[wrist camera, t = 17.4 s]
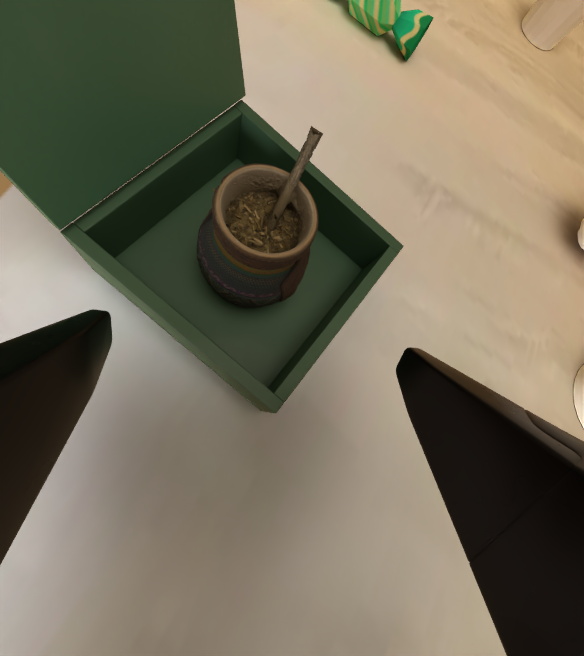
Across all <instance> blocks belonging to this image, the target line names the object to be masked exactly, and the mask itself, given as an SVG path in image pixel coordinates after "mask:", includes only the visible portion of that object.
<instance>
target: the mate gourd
mask: <svg viewBox="0 0 584 656" xmlns="http://www.w3.org/2000/svg"><path fill="white" fill-rule="evenodd" d="M318 132H319V131H318V130H316V129H315V128H313V127H312V126H311V128H310V131H309V134H308V138H307V141H305V143H304V145H303V147H302V149H301V151H300V154H299V157H298V159H297V161H296V163H295V165H294V168H293V170H292V171H291V173H289V172H287V171H285V170H283V169H280V168H278V167H275V166H272V165H267V164H248V165H244V166H241V167H238V168H236V169H235V170H233V171H231V172H229V173H228V174H227V175H225V176H224V177H223V178H222V179H221V183H220V184H221V185H220V186H219V185H218V186H217V188H216V189H215V190H214V188H213V191H214V193H213V198H212V208H211V209H210V211H209V213H208V215H207V216H206V218H205V219H204V220H203V221H202V224H201V225H200V228H199V233H198V239H197V260H198V262H199V266H200V269H201V272H202V274H203V276H204V278H205V279H206V281H207V282H208V284H209V285H210V286H211V287H212V289H213V290H214V291H215V292H216V293H217V294H218V295H219V296H221V297H222V298H223V299H225V300H227V301H228V302H231V303H232V304H235V305H238V306H241V307H245V308H246V307H247V308H253V307H254V308H255V307H264V306H268V305H272V304H274V303H277V302H279V301H280V302H281V301H284V300H286V299H287V298H289V297H291V296H292V295H293V294H294V293H295V291H296V289H297V286H298V285H299V284H300V282H301V280H302V278H303V275H304V273H305V270H306V267H307V265H308V261H309V256H310V246H311V244H312V242H313V241H314V238H315V236H316V233H317V229H318V211H317V207H316V203H315V201H314V199H313V197H312V195H311V193H310V192H309V190H308V189H307V188H306V186H305V185H304V184H303V183H302V182H301V181H300V180H299V179H300V177H301V175H302V172H303V171H304V169H305V167H306V165H307V163H308V162H309V160H310V158H311V156H312V154H313V153H312V152H313V151H314V149H315V148H316V146H317V144H318V142H319V140H320V138H321V137H322V135H323V133H321V132H319V133H318Z"/></svg>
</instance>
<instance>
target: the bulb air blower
mask: <svg viewBox="0 0 584 656" xmlns="http://www.w3.org/2000/svg"><path fill="white" fill-rule="evenodd" d="M577 235H578V243H579V245H580V246H581V248H582V249H584V218H583V219H582V222H581V226H580V229H579V230H578V234H577Z"/></svg>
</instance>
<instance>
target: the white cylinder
mask: <svg viewBox="0 0 584 656" xmlns="http://www.w3.org/2000/svg"><path fill="white" fill-rule="evenodd" d="M583 20H584V0H537V1H536V2H535V3H534V5H533V6H532V8H531V9H530V10H529V12H528V13H527V14H526V16H525V17H524V19H523V20H522V23H521V25H522V30H523V32H524V34H525V36H526V37H527V39H528V40H529V41H530V42H531V43H532V44H533V45H535V46H536V47H537V48H539V49H542V50H551V49H552V48H554V47H555V46H556V45H557V44H558V43H559V42H560V41H561V40H562V39H564V38H565V37H566V36H567V35H568V34H569V33H570V32H571V31H572V30H573V29H575V28H576V27H577V26H578V25H579V24H580V23H581V22H582V21H583Z"/></svg>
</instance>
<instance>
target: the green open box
mask: <svg viewBox="0 0 584 656" xmlns="http://www.w3.org/2000/svg"><path fill="white" fill-rule="evenodd" d="M299 154H300V152H299V151H298V150H297V149H295V148H294V147H293V146H292V145H291V144H290V143H289V142H288V141H287V140H285V139H284V138H283V137H282V136H281V135H280V134H279V133H278V132H277V131H276V130H274V129H273V128H272V127H271V126H270V125H269V124H268V123H267V122H266V121H264V120H263V119H262V118H261V117H260V116H259V115H258V114H257V113H256V112H254V111H253V110H252V109H251V108H250V107H249V106H248V105H247V104H246V103H244V102H243V101H242V100H240V101H239V102H237V103H236V104H235V105H234V106H232V107H231V108H230V109H228V110H227V111H226V112H224V113H223V114H221V115H220V116H219V117H217V118H216V119H215V120H213V121H212V122H210V123H209V124H208V125H206V126H205V127H204V128H202V129H201V130H199V131H198V132H197V133H195V134H194V135H193V136H191V137H190V138H188V139H187V140H186V141H184V142H183V143H182V144H180V145H179V146H178V147H176V148H175V149H173V150H172V151H171V152H169V153H168V154H167V155H165V156H164V157H162V158H161V159H160V160H158V161H157V162H156V163H154V164H153V165H151V166H150V167H149V168H147V169H146V170H145V171H143V172H142V173H140V174H139V175H138V176H136V177H135V178H134V179H132V180H131V181H130V182H128V183H127V184H125V185H124V186H123V187H121V188H120V189H119V190H117V191H116V192H114V193H113V194H112V195H110V196H109V197H108V198H106V199H105V200H103V201H102V202H101V203H99V204H98V205H97V206H95V207H94V208H92V209H91V210H90V211H88V212H87V213H86V214H84V215H83V216H82V217H80V218H79V219H77V220H76V221H75V222H74V223H71V224H70V225H69V226H67V227H66V228H64V229H63V230H62V231H61V233H62V234H63V236H64V237H65V238H66V239H67V240H68V241H69V242H70V244H71V245H72V246H73V247H74V248H75V249H76V250H77V252H78V253H79V254H80V255H81V256H82V257H83V258H84V260H85V261H86V262H87V263H88V264H89V265H90V266H91V267H92V269H93V270H95V271H96V272H97V273H98V274H99V275H100V276H102V277H103V278H104V279H105V280H106V281H108V282H109V283H110V284H111V285H112V286H114V287H115V288H116V289H117V290H118V291H119V292H121V293H122V294H123V295H124V296H125V297H127V298H128V299H129V300H130V301H131V302H132V303H134V304H135V305H136V306H137V307H138V308H140V309H141V310H142V311H143V312H144V313H146V314H147V315H148V316H149V317H150V318H151V319H153V320H154V321H155V322H156V323H157V324H159V325H160V326H161V327H162V328H163V329H164V330H166V331H167V332H168V333H169V334H170V335H172V336H173V337H174V338H175V339H176V340H178V341H179V342H180V343H181V344H182V345H183V346H185V347H186V348H187V349H188V350H189V351H191V352H192V353H193V354H194V355H195V356H197V357H198V358H199V359H200V360H201V361H202V362H204V363H205V364H206V365H207V366H208V367H210V368H211V369H212V370H213V371H214V372H215V373H217V374H218V375H219V376H220V377H221V378H223V379H224V380H225V381H226V382H227V383H229V384H230V385H231V386H232V387H233V388H234V389H236V390H237V391H238V392H239V393H240V394H242V395H243V396H244V397H245V398H246V399H248V400H249V401H250V402H251V403H252V404H253V405H255V406H256V407H257V408H258V409H259V410H261V411H264V412H270V413H275V414H276V413H277V411H278V410H279V409H280V407H281V406H282V405H283V403H284V402H285V401H286V400H287V398H288V397H289V396H290V394H291V393H292V392H293V390H294V389H295V388H296V386H297V385H298V384H299V383H300V381H301V380H302V379H303V377H304V376H305V375H306V373H307V372H308V371H309V369H310V368H311V367H312V366H313V364H314V363H315V362H316V360H317V359H318V358H319V356H320V355H321V354H322V352H323V351H324V350H325V349H326V347H327V346H328V345H329V343H330V342H331V341H332V339H333V338H334V337H335V335H336V334H337V333H338V332H339V330H340V329H341V328H342V326H343V325H344V324H345V322H346V321H347V320H348V318H349V317H350V316H351V314H352V313H353V312H354V311H355V309H356V308H357V307H358V305H359V304H360V303H361V301H362V300H363V299H364V297H365V296H366V295H367V294H368V292H369V291H370V290H371V288H372V287H373V286H374V284H375V283H376V282H377V280H378V279H379V278H380V277H381V275H382V274H383V273H384V271H385V270H386V269H387V267H388V266H389V265H390V263H391V262H392V261H393V260H394V258H395V257H396V256H397V254H398V253H399V252H400V250H401V249H402V248H403V245H402V244H401V243H400V242H398V241H397V240H396V239H395V238H394V237H393V236H392V235H391V234H390V233H389V232H387V231H386V230H385V229H384V228H383V227H382V226H381V225H380V224H379V223H377V222H376V221H375V220H374V219H373V218H372V217H371V216H370V215H369V214H367V213H366V212H365V211H364V210H363V209H362V208H361V207H360V206H359V205H357V204H356V203H355V202H354V201H353V200H352V199H351V198H350V197H349V196H348V195H346V194H345V193H344V192H343V191H342V190H341V189H340V188H339V187H338V186H336V185H335V184H334V183H333V182H332V181H331V180H330V179H329V178H328V177H326V176H325V175H324V174H323V173H322V172H321V171H320V170H319V169H318V168H317V167H315V166H314V165H313V164H312V163H311V162H310V161H309V162H308V163H307V165H306V167H305V169H304V171H303V172H302V175H301V177H300V179H299V180H300V181H301V182H302V183H303V184H304V185H305V186H306V188H307V189H308V190H309V192H310V193H311V195H312V197H313V199H314V201H315V203H316V207H317V211H318V229H317V233H316V236H315V238H314V241H313V242H312V244H311V246H310V256H309V261H308V265H307V267H306V270H305V273H304V275H303V278H302V280H301V282H300V284H299V285H298V286H297V289H296V291H295V293H294V294H293V295H292V296H291V297H289V298H287V299H286V300H284V301H281V302H280V301H279V302H277V303H274V304H272V305H268V306H264V307H255V308H254V307H253V308H247V307H246V308H245V307H241V306H238V305H235V304H232V303H231V302H228V301H227V300H225V299H223V298H222V297H221V296H219V295H218V294H217V293H216V292H215V291H214V290H213V289H212V287H211V286H210V285H209V284H208V282H207V281H206V279H205V278H204V276H203V274H202V272H201V269H200V266H199V262H198V260H197V239H198V233H199V228H200V225H201V224H202V221H203V220H204V219H205V218H206V216H207V215H208V213H209V211H210V209H211V208H212V198H213V193H214V191H213V188H214V190H215V189H216V188H217V186H218V185H219V186H220V185H221V184H220V183H221V179H222V178H223V177H224V176H225V175H227V174H228V173H229V172H231V171H233V170H235V169H236V168H238V167H241V166H244V165H248V164H267V165H272V166H275V167H278V168H280V169H283V170H285V171H287V172H289V173H291V171H292V170H293V168H294V165H295V163H296V161H297V159H298V157H299Z"/></svg>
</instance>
